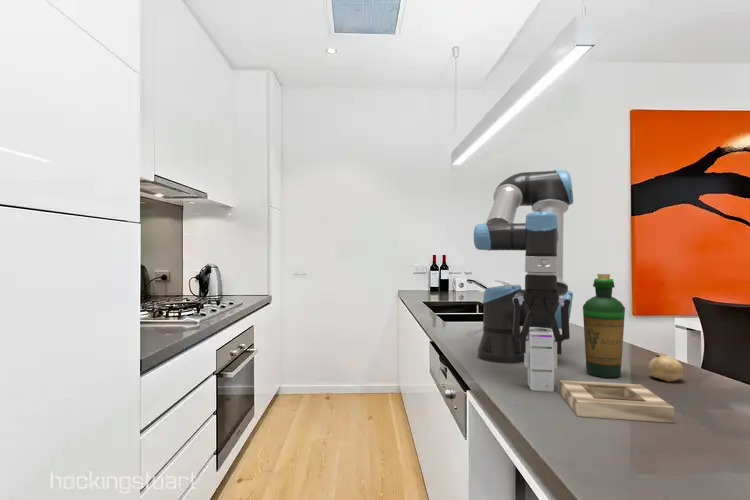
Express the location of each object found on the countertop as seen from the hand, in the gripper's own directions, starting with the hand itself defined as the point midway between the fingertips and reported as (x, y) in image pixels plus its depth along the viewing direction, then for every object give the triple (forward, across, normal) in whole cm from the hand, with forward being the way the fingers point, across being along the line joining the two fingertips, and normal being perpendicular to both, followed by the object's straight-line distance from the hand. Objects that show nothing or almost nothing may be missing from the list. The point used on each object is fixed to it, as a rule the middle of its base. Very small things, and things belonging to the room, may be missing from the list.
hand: (540, 366), depth 112 cm
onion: (+6, +35, +15) cm, 38 cm away
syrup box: (+6, 0, 0) cm, 6 cm away
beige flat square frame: (+5, +13, -11) cm, 18 cm away
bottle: (+6, +20, +17) cm, 27 cm away
